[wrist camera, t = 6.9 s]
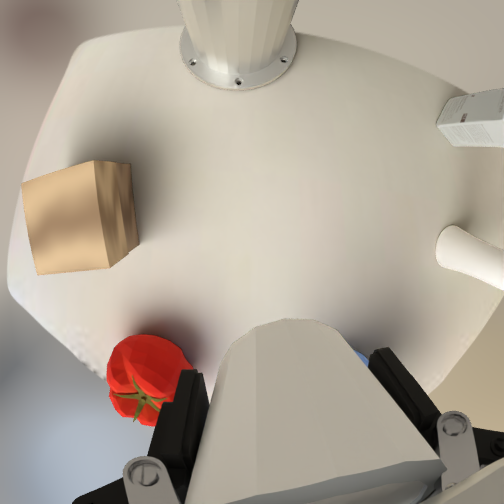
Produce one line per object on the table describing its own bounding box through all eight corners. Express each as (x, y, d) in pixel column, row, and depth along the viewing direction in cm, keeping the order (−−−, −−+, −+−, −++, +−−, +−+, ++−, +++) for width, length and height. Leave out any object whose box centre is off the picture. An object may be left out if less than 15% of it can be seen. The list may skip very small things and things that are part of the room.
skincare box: (448, 97, 26) (510, 82, 14) (467, 120, 27) (528, 113, 15) (433, 126, 27) (501, 116, 15) (453, 150, 28) (520, 149, 16)
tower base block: (67, 177, 27) (46, 179, 23) (131, 164, 27) (114, 162, 23) (77, 250, 30) (57, 260, 25) (140, 243, 30) (125, 254, 25)
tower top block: (47, 180, 23) (21, 183, 19) (115, 161, 23) (93, 160, 19) (60, 262, 25) (37, 275, 21) (128, 253, 25) (110, 268, 21)
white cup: (187, 312, 10) (129, 487, 3) (372, 290, 10) (494, 415, 3) (219, 432, 12) (212, 557, 5) (356, 412, 12) (403, 524, 5)
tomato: (169, 311, 32) (149, 354, 23) (213, 383, 35) (208, 432, 26) (104, 334, 32) (75, 374, 24) (149, 398, 35) (134, 442, 27)
